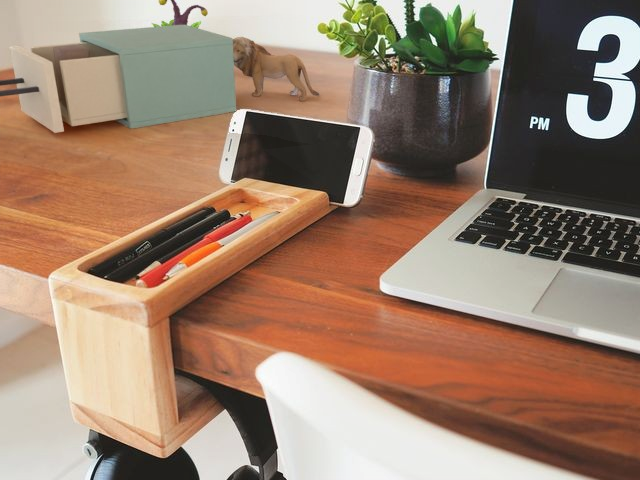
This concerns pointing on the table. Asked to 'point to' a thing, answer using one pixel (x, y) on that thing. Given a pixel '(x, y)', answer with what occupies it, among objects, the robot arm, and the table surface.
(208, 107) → the cabinet
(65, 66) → the drawer
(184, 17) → the plant
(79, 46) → the wooden block
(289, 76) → the lion figurine
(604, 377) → the table surface
